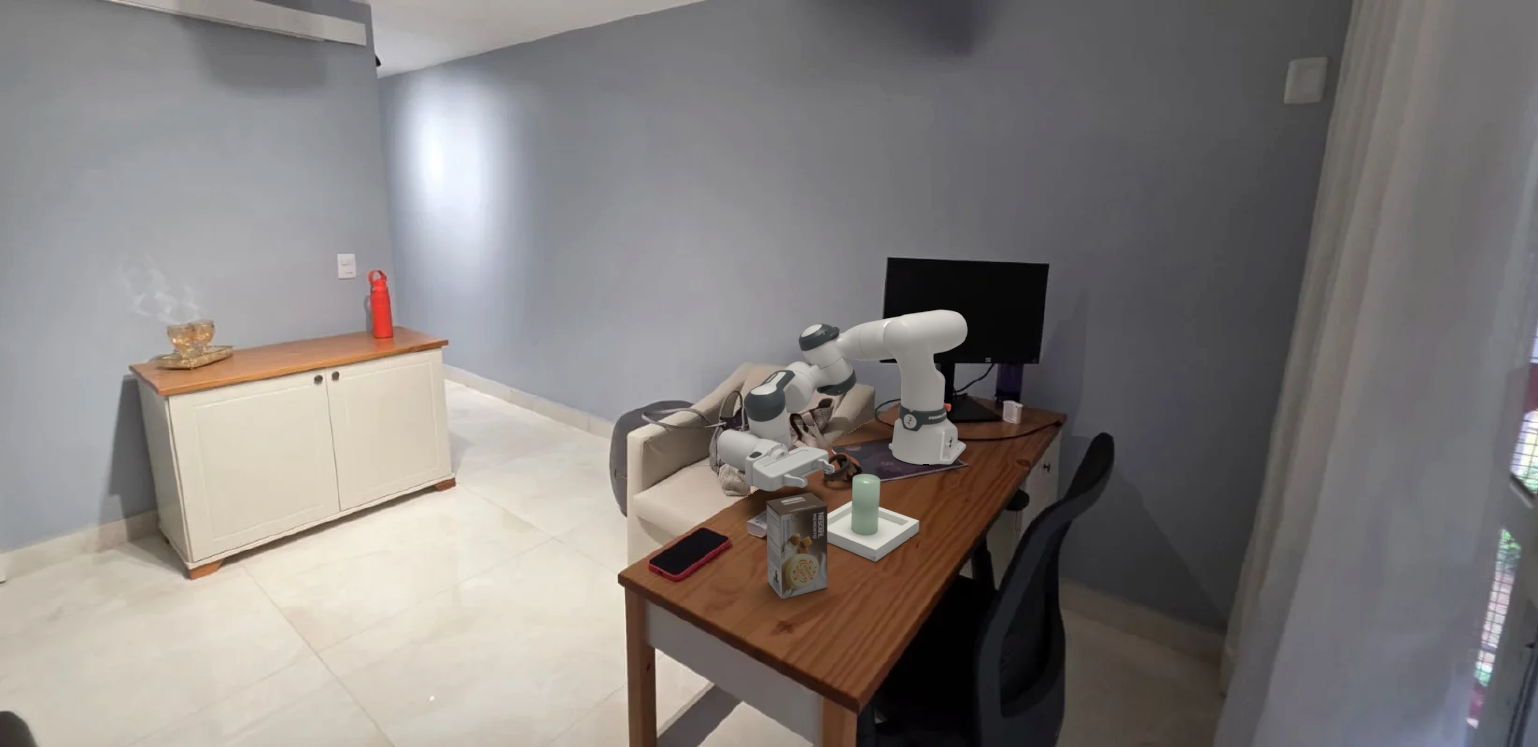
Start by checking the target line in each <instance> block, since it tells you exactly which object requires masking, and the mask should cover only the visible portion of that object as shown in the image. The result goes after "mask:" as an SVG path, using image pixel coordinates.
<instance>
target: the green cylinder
mask: <svg viewBox="0 0 1538 747" xmlns="http://www.w3.org/2000/svg"><path fill="white" fill-rule="evenodd" d="M851 493H852V494H851V501H852V515H851V530H852V531H853V532H855V533H857V534H860V535H873V534H875V533H877V531H878V518H879V507H880V493H881V479H880V478H879V476H877V475H875V474H870V473H863V474H859V475H856V476H852V492H851Z"/></svg>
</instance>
